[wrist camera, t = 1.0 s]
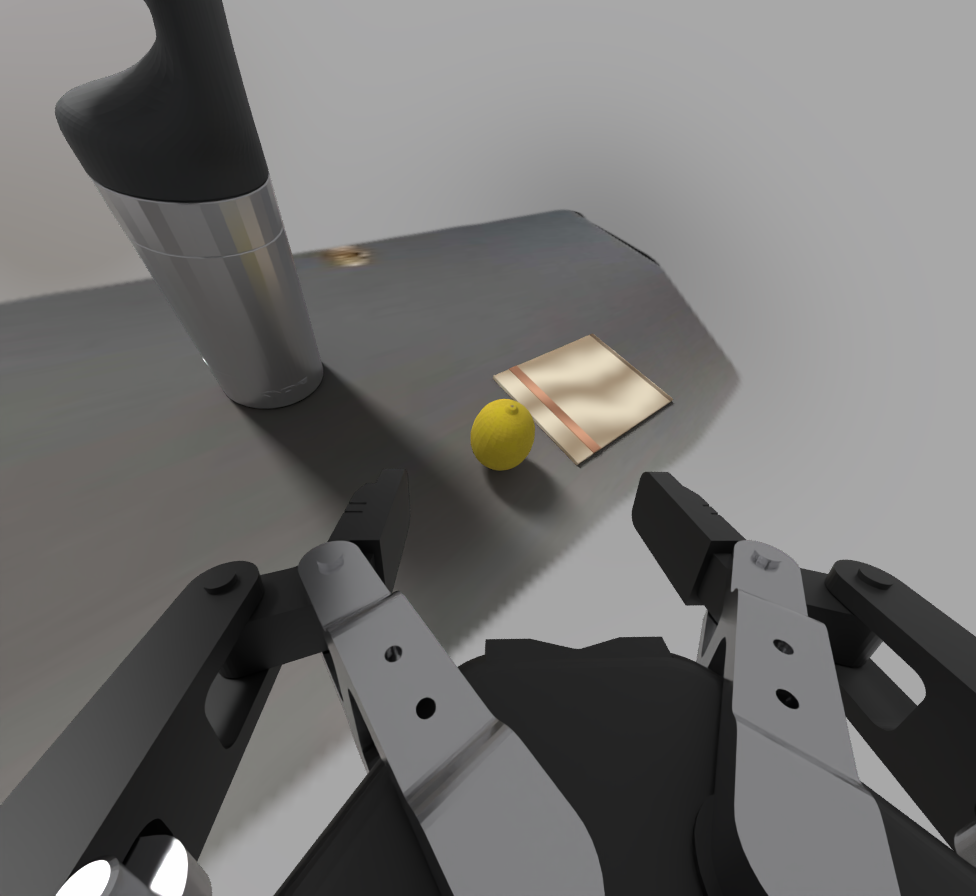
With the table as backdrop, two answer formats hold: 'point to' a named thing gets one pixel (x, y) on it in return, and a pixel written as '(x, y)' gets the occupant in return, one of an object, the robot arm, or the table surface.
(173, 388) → the table surface
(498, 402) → the lemon
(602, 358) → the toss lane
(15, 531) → the table surface
